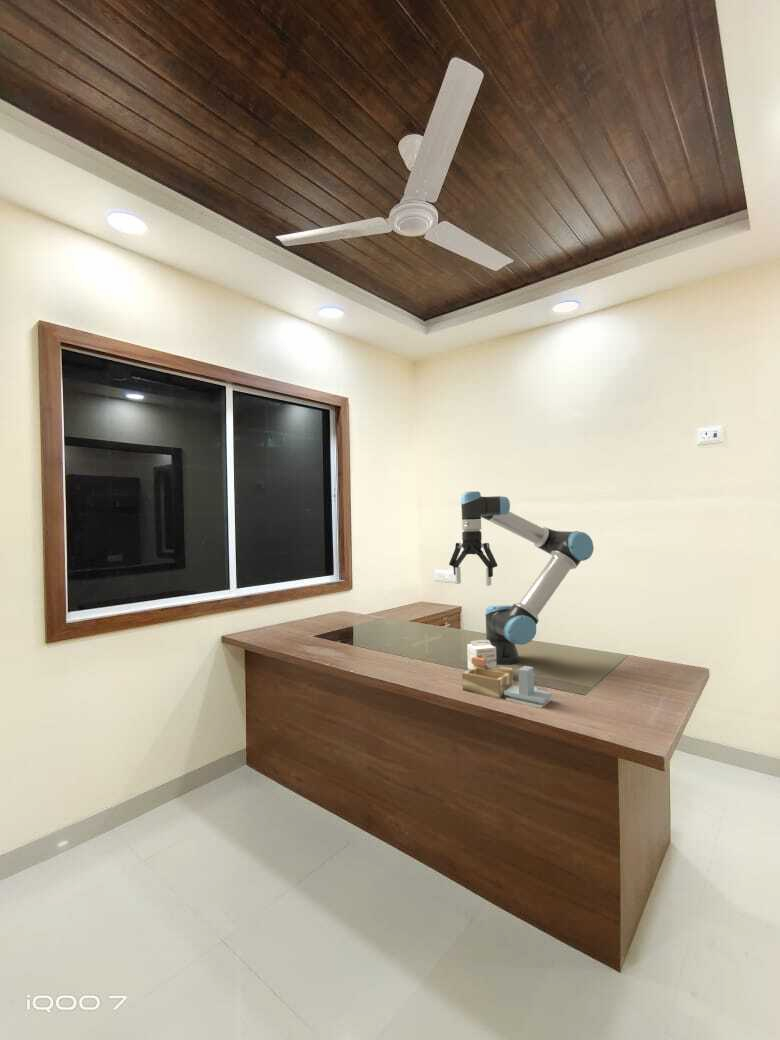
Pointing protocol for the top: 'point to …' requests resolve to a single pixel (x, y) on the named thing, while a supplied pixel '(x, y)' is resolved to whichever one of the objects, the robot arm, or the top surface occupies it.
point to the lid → (527, 688)
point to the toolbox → (487, 680)
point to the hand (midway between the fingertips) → (473, 584)
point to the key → (478, 661)
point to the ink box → (482, 653)
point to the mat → (528, 702)
